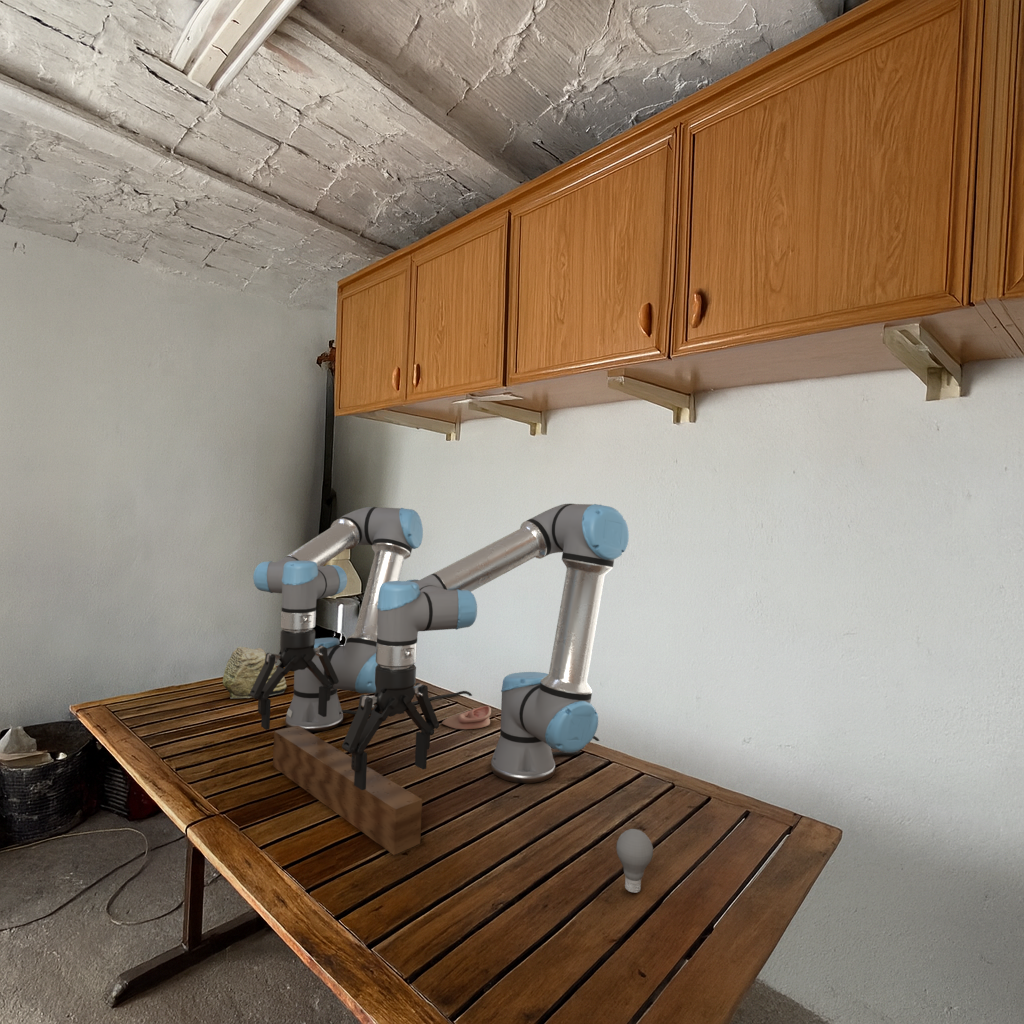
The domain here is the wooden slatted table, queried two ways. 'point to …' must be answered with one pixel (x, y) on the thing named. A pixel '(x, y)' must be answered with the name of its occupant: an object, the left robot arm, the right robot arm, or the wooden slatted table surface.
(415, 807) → the bar
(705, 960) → the wooden slatted table surface
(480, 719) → the anatomical model
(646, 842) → the light bulb
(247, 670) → the fossil
